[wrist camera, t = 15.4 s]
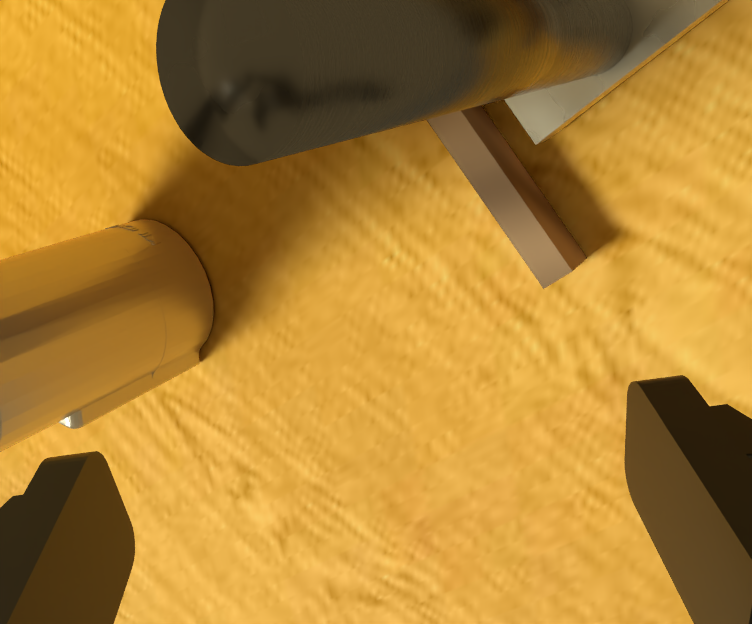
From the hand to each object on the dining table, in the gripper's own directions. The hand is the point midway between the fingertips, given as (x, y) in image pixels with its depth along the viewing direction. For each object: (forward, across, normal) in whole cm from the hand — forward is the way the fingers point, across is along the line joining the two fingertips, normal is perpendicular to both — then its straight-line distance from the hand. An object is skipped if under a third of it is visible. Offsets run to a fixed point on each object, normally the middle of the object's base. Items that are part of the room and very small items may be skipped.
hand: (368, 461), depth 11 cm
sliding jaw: (+21, -9, -4) cm, 23 cm away
